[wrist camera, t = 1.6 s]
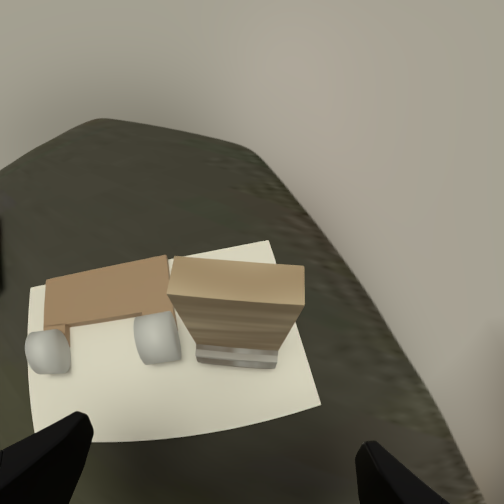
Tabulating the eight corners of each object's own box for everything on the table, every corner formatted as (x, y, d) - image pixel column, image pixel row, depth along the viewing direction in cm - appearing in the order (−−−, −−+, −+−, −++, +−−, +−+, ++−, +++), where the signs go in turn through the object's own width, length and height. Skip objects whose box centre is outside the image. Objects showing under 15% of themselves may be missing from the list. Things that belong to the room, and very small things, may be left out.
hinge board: (317, 405, 19) (335, 402, 15) (42, 438, 15) (10, 436, 11) (267, 246, 26) (272, 215, 22) (36, 292, 22) (11, 270, 18)
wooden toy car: (272, 371, 19) (304, 329, 10) (201, 365, 19) (161, 316, 10) (274, 326, 21) (303, 246, 12) (206, 321, 21) (179, 236, 12)
